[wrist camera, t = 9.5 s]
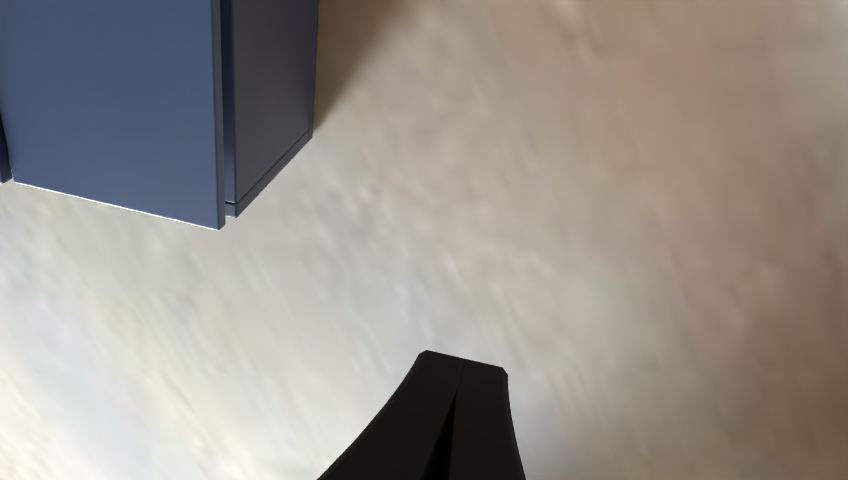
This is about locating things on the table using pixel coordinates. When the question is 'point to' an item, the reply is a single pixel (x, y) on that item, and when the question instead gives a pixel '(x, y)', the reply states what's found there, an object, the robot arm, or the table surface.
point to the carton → (257, 93)
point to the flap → (117, 103)
